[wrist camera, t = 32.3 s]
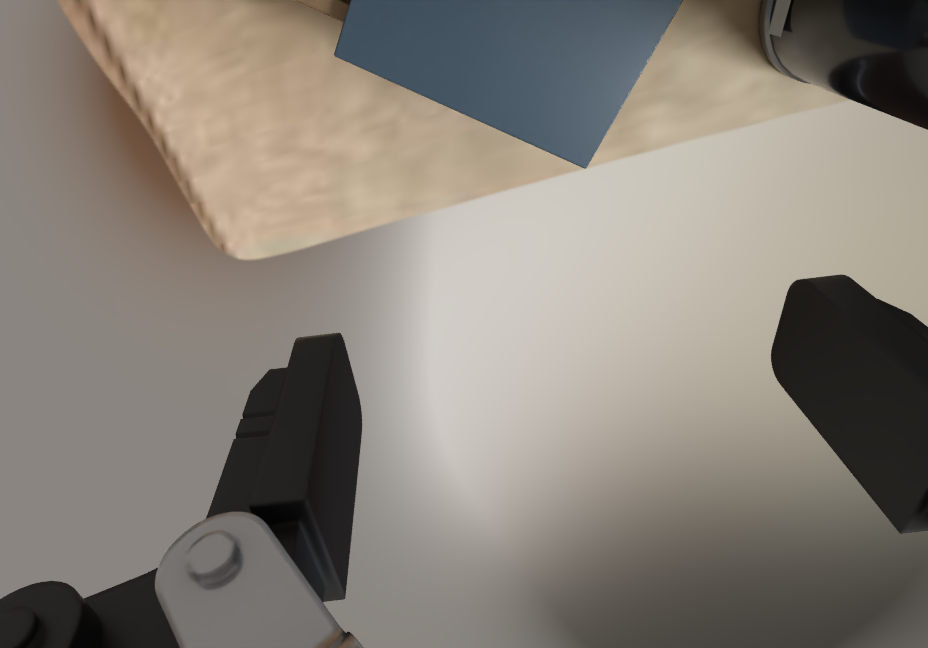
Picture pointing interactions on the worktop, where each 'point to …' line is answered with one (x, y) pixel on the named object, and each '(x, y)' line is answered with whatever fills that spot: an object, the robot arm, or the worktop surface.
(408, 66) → the cabinet
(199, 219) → the worktop surface
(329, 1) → the drawer
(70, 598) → the robot arm
